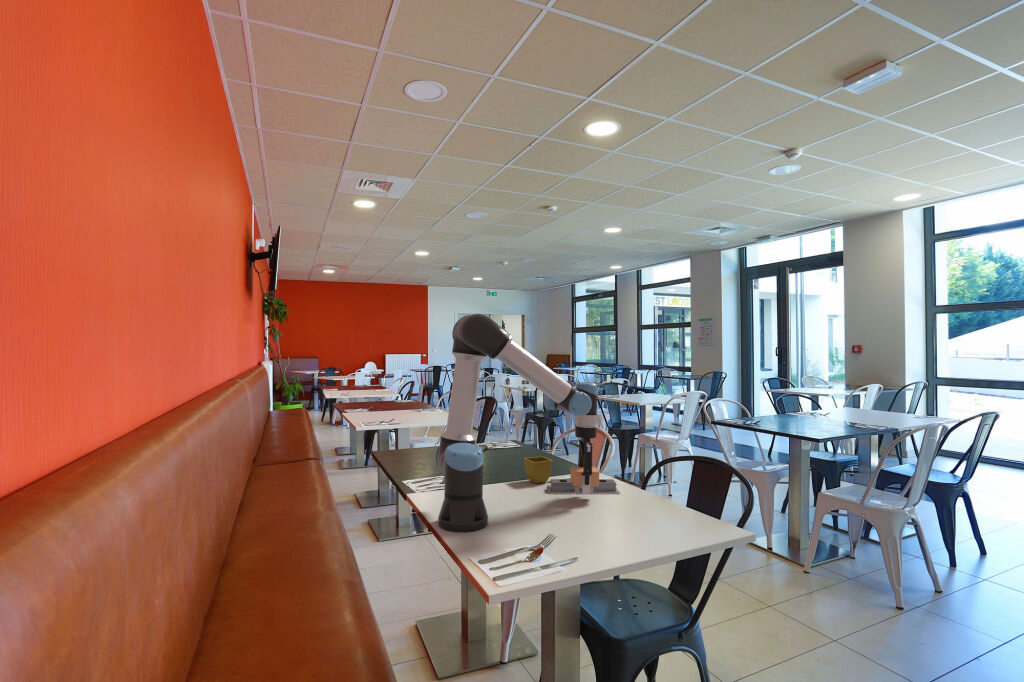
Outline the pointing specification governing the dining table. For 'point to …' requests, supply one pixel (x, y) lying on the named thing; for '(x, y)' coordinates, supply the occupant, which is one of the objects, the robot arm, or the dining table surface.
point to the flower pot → (538, 469)
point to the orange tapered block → (577, 478)
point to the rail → (567, 488)
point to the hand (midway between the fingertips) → (584, 490)
